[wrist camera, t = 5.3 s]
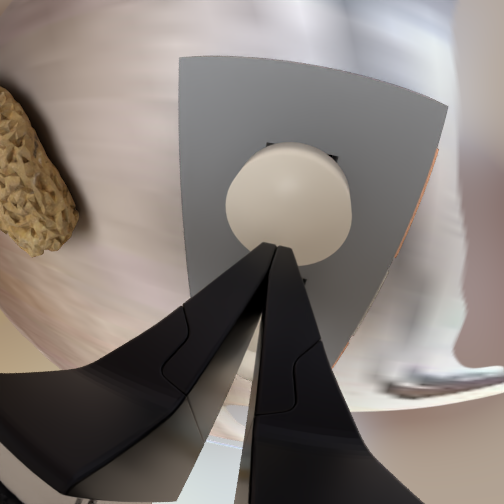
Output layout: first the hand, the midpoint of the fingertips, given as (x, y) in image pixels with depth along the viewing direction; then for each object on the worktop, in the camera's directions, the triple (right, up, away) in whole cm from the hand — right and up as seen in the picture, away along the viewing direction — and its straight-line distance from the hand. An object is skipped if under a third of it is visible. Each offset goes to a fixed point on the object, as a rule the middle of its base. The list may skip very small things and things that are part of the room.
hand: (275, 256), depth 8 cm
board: (+1, 0, +10) cm, 11 cm away
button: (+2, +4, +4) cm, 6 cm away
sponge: (-22, +10, +10) cm, 26 cm away
